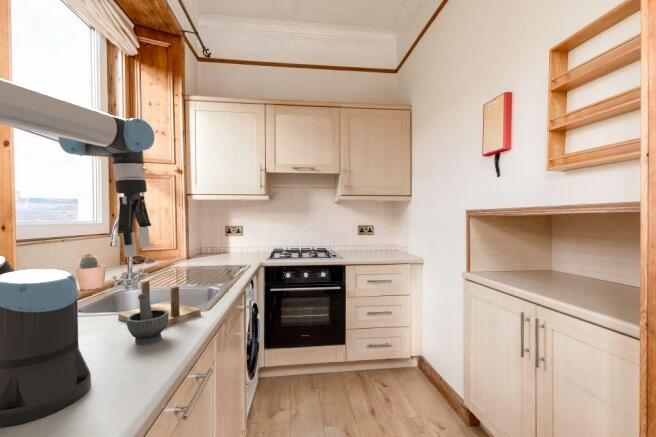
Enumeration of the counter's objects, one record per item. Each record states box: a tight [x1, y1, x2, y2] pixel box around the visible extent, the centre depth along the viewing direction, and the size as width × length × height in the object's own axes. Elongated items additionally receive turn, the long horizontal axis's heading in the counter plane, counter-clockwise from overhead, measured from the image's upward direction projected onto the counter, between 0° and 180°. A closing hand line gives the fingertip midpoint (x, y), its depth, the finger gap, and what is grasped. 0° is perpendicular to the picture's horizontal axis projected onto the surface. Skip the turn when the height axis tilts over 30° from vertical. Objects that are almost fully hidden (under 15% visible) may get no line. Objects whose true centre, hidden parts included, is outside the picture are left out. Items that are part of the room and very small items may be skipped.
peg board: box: [117, 280, 202, 328], centre depth 101 cm, size 16×20×11 cm
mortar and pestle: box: [125, 293, 169, 346], centre depth 83 cm, size 11×9×12 cm
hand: (138, 251), depth 91 cm, fingers open, 13 cm apart
